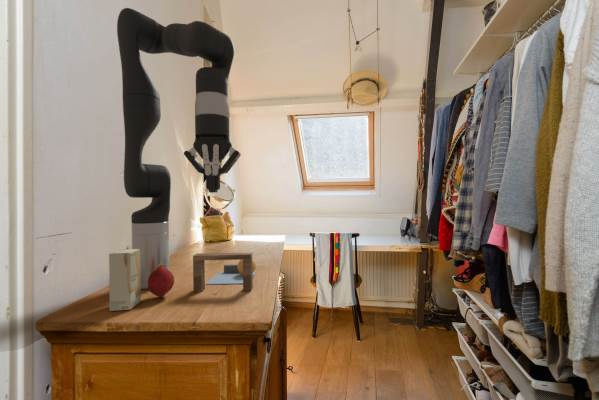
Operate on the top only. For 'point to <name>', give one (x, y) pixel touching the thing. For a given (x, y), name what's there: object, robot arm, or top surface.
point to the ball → (240, 266)
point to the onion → (160, 281)
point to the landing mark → (227, 278)
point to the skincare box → (124, 279)
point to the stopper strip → (230, 269)
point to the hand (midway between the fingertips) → (213, 192)
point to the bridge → (201, 257)
